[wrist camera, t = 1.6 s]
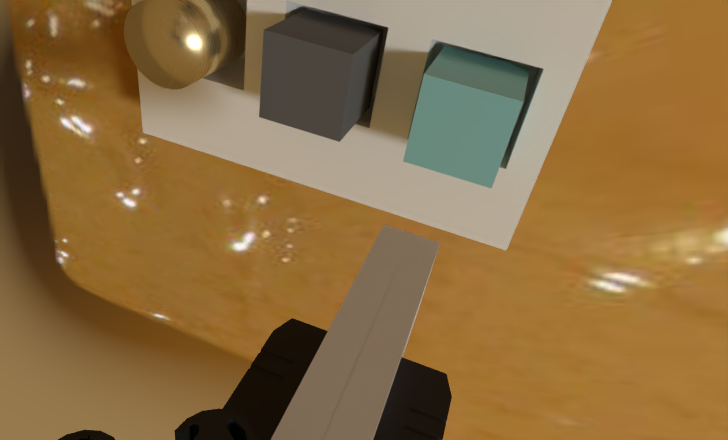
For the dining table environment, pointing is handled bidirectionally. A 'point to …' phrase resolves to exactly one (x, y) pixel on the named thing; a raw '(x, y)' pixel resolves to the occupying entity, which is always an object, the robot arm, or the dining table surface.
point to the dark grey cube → (318, 72)
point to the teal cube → (466, 115)
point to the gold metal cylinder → (184, 38)
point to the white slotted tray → (394, 106)
